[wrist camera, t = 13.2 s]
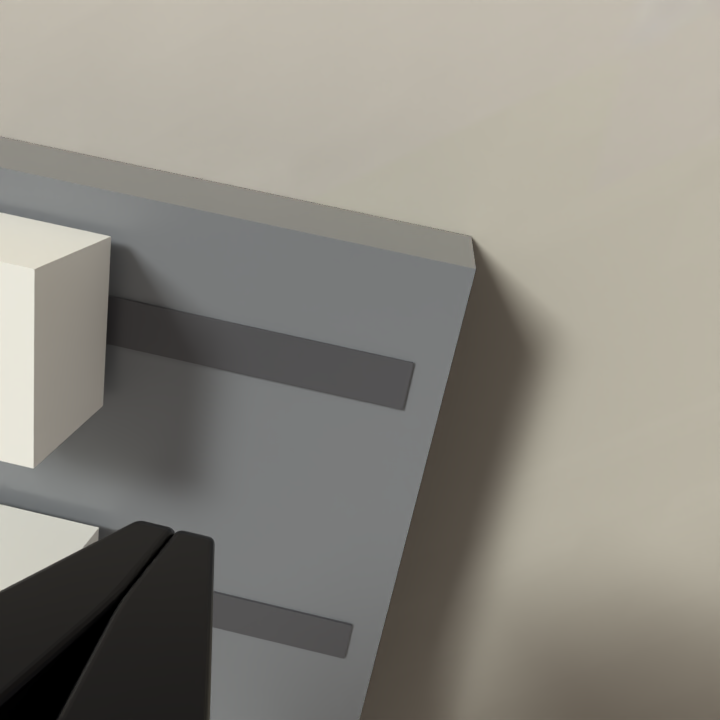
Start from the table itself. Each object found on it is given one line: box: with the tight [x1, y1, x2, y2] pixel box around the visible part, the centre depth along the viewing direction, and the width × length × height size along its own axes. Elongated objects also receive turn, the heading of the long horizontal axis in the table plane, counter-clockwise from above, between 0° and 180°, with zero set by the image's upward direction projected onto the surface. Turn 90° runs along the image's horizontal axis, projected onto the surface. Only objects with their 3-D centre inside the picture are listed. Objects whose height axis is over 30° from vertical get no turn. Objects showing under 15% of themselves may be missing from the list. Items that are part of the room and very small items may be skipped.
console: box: [0, 137, 476, 720], centre depth 17 cm, size 18×11×3 cm, turn 169°
